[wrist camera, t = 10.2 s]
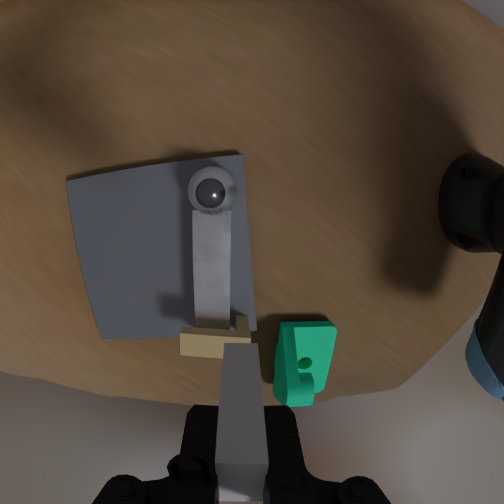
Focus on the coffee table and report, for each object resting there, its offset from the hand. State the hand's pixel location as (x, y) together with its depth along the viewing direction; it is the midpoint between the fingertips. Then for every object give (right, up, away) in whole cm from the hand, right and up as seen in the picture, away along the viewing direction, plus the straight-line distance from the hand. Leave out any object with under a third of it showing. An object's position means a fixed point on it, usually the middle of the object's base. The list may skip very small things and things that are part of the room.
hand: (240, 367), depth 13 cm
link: (-4, +5, +22) cm, 23 cm away
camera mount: (+8, -9, +29) cm, 32 cm away
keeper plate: (-11, +5, +23) cm, 26 cm away
